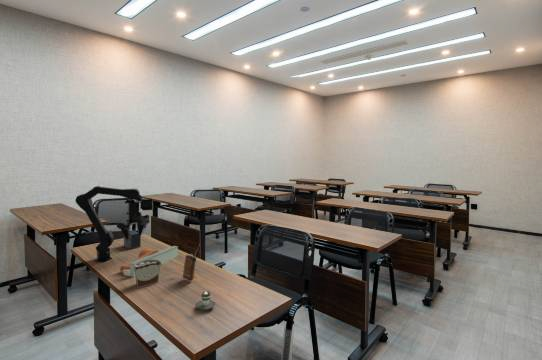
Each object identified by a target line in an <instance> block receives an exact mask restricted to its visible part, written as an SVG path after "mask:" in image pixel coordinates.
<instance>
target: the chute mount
mask: <svg viewBox="0 0 542 360" xmlns="http://www.w3.org/2000/svg"><path fill="white" fill-rule="evenodd" d="M178 248H179V246H178V245H177V246H176V245H173V246H172V245H171V246H170V247H167V248H165V249H162V250H159V252H157V253H154V254H152V255H149V256H146V257H144V258H141V259H139V260H137V259H135V260H136V261H135V260H133V261H134V262H133V261H131V262H129V264H130V270H127V269H125V270H124V273H123V276H127V277H132V278H136V276H135V271H133V269H134V265H135V264H136V263H137V262H140V261H143V260H151V259H153V260H159V261H160V262H161V265H164V264H165V263H167V262H169V261H171V260H173V259H175V258H177V257H179V256H178V255H179V252H178V250H179V249H178Z"/></svg>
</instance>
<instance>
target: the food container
mask: <svg viewBox="0 0 542 360" xmlns="http://www.w3.org/2000/svg"><path fill="white" fill-rule="evenodd" d="M161 266H162V264H161V262H160V261H159V260H153V259H151V260H143V261H140V262H137V263H136V264H135V265H134V269H133V271H135V282H136V288H137V289H139V288H143V287H146V286H149V285H153V284H158V283H159V281H160V280H159V278H160V270H161V269H160V268H161Z"/></svg>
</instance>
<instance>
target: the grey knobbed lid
mask: <svg viewBox="0 0 542 360" xmlns="http://www.w3.org/2000/svg"><path fill="white" fill-rule="evenodd" d="M201 299H202V300H199V301H197V302H196V303H195V308H196V309H199V310H209V309H212V308H213V307H215V305H216V302H215V301H214V300H211V292H210V291H207V290H206V291H203V292H202V293H201Z"/></svg>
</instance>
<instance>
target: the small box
mask: <svg viewBox="0 0 542 360" xmlns="http://www.w3.org/2000/svg"><path fill="white" fill-rule="evenodd" d="M141 236H142V235H141ZM141 236H139V233H138V231H135V230H129V238H128V239H126V237H125V236H124V235H123V247H125V248H127V249H129V250H135V249H139V247H140V248H141V247H142V246H141V245H142V244H141V239H142V238H141Z"/></svg>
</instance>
